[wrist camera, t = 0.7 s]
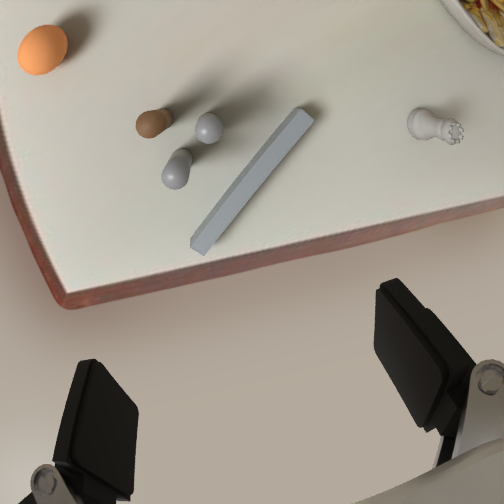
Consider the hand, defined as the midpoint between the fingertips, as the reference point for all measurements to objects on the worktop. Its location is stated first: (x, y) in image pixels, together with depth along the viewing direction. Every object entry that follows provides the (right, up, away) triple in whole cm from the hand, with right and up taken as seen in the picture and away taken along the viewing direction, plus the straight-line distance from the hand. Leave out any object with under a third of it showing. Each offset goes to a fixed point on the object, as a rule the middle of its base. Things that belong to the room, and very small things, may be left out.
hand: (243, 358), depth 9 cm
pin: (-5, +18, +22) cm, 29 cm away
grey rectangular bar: (0, +12, +26) cm, 29 cm away
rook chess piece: (+23, +21, +26) cm, 40 cm away
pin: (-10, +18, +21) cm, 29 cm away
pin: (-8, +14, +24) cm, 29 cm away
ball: (-22, +25, +12) cm, 36 cm away
